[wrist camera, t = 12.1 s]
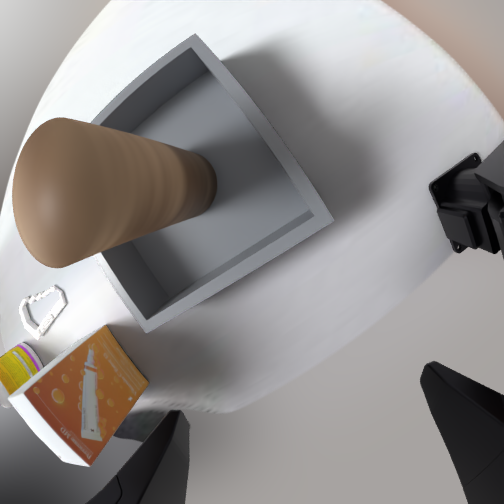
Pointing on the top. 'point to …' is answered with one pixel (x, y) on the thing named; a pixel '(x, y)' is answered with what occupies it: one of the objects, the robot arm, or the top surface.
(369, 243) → the top surface
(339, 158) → the top surface
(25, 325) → the saw cookie cutter
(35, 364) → the supplement bottle
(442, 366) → the robot arm
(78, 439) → the small box
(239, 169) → the grey tote
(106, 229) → the brown cylinder
